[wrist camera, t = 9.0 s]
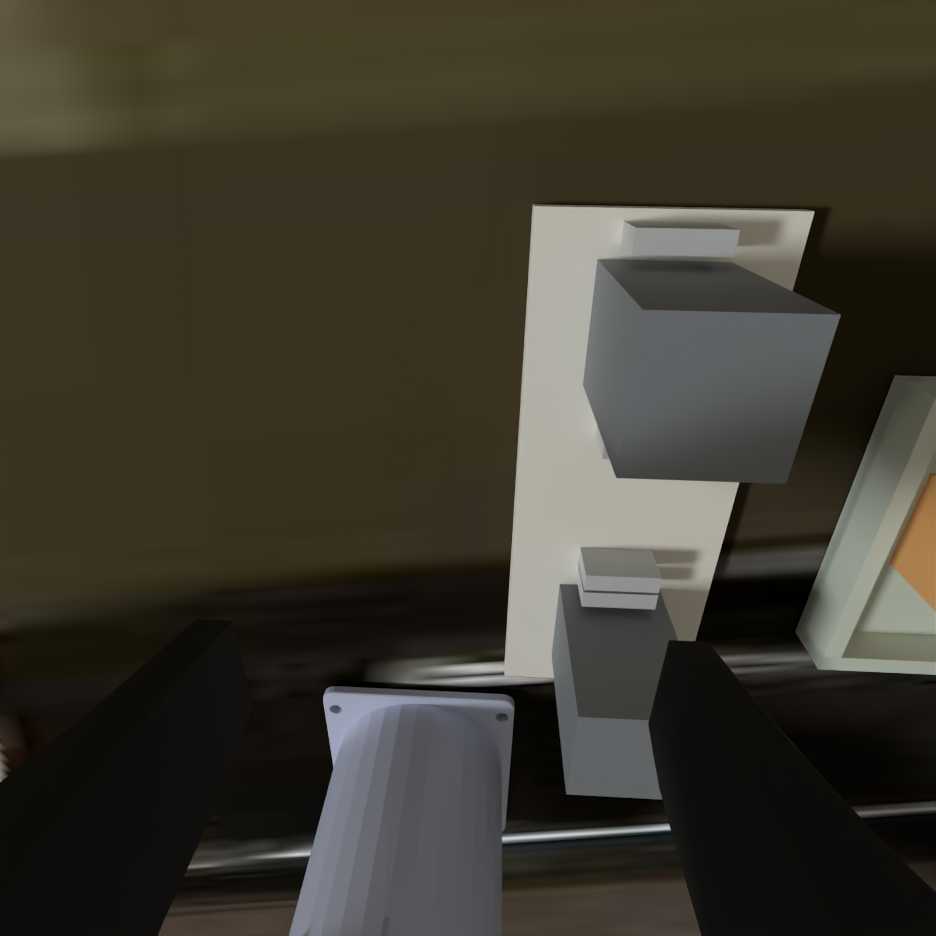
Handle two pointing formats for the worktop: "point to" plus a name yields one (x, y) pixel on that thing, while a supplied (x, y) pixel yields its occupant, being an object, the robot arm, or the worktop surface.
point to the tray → (878, 550)
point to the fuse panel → (576, 461)
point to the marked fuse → (920, 546)
